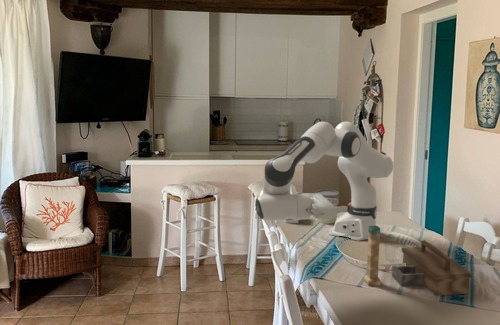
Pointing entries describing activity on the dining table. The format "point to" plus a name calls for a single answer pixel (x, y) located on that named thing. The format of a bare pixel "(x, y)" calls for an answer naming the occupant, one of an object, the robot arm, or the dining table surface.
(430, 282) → the toolbox
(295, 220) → the light bulb box
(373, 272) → the wooden key
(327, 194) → the reusable coffee cup
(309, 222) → the dining table surface
